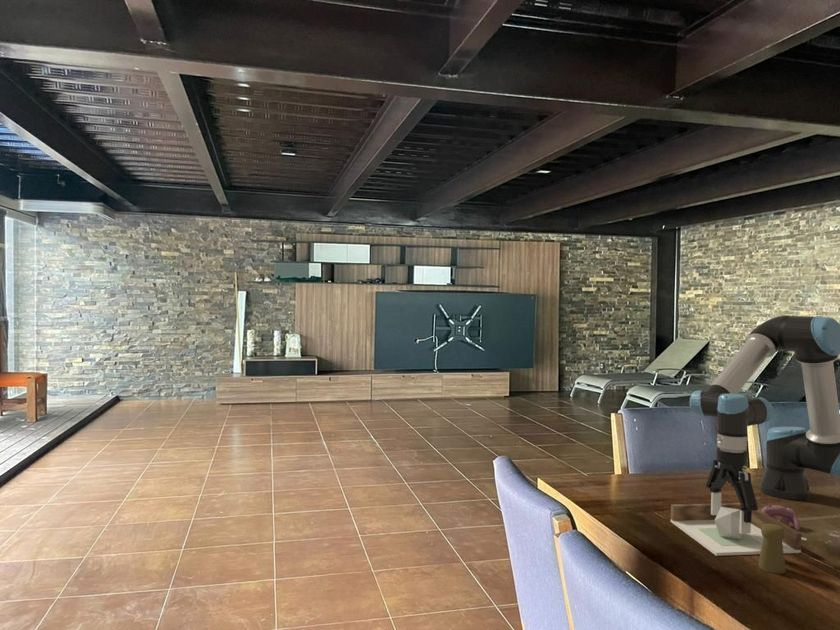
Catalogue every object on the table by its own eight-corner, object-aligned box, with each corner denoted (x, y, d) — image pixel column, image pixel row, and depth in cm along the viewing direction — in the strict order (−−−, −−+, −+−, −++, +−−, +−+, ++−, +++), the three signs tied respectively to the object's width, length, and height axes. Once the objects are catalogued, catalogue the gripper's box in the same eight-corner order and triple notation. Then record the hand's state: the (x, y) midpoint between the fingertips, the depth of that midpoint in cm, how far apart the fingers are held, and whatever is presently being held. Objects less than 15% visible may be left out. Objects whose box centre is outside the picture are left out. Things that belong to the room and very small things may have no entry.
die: (748, 536, 173) (729, 504, 177) (759, 532, 165) (738, 498, 170) (722, 547, 172) (703, 514, 177) (732, 543, 165) (712, 509, 169)
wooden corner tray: (744, 519, 187) (745, 502, 187) (800, 552, 163) (801, 533, 163) (670, 521, 185) (670, 504, 184) (716, 555, 161) (716, 536, 161)
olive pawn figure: (753, 563, 156) (754, 521, 156) (775, 562, 157) (776, 520, 157) (768, 574, 150) (769, 530, 150) (791, 573, 151) (792, 529, 151)
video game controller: (797, 532, 181) (794, 508, 184) (801, 530, 177) (798, 505, 180) (760, 528, 184) (758, 504, 187) (763, 526, 180) (761, 502, 183)
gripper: (694, 438, 183) (693, 508, 184) (747, 462, 158) (745, 542, 159) (718, 438, 183) (716, 507, 184) (774, 461, 159) (771, 541, 159)
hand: (729, 523), depth 172 cm, fingers open, 13 cm apart
